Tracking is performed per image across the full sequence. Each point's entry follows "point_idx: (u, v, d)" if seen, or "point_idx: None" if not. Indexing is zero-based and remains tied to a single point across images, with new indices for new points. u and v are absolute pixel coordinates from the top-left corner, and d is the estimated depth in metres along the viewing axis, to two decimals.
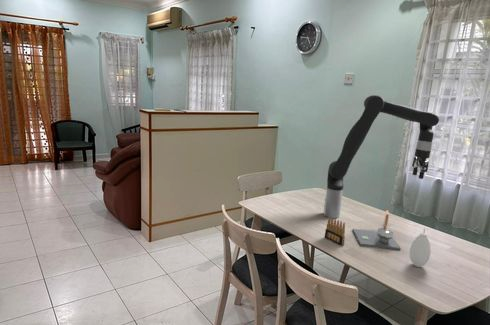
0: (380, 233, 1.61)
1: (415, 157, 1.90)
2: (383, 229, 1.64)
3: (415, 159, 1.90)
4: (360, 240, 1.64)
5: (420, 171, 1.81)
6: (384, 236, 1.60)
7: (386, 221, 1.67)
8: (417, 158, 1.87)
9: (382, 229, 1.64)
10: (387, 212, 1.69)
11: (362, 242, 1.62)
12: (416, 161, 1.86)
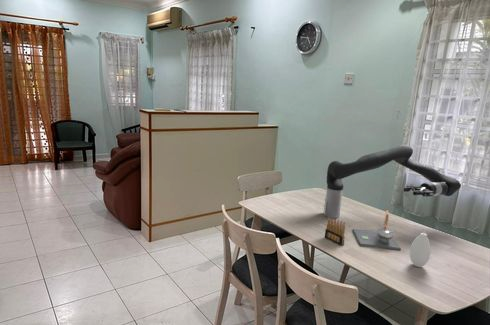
0: (380, 233, 1.61)
1: None
2: (383, 229, 1.64)
3: None
4: (360, 240, 1.64)
5: (420, 190, 1.72)
6: (384, 236, 1.60)
7: (386, 221, 1.67)
8: None
9: (382, 229, 1.64)
10: (387, 212, 1.69)
11: (362, 242, 1.62)
12: (420, 186, 1.77)
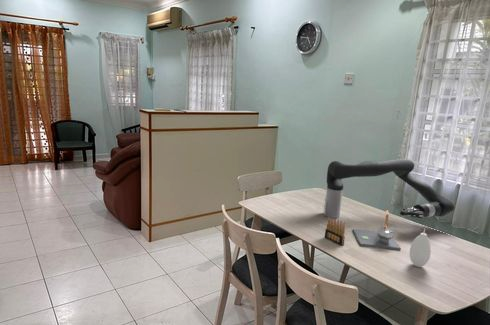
0: (380, 233, 1.61)
1: (405, 206, 1.83)
2: (383, 229, 1.64)
3: None
4: (360, 240, 1.64)
5: (408, 211, 1.76)
6: (384, 236, 1.60)
7: (386, 221, 1.67)
8: None
9: (382, 229, 1.64)
10: (387, 212, 1.69)
11: (362, 242, 1.62)
12: (414, 207, 1.79)
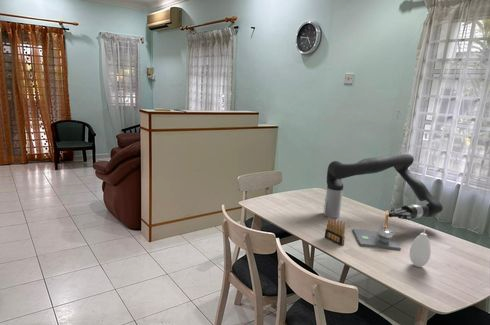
0: (380, 233, 1.61)
1: (393, 208, 1.80)
2: (383, 229, 1.64)
3: (393, 209, 1.79)
4: (360, 240, 1.64)
5: (396, 212, 1.72)
6: (384, 236, 1.60)
7: (386, 221, 1.67)
8: (400, 208, 1.78)
9: (382, 229, 1.64)
10: (387, 212, 1.69)
11: (362, 242, 1.62)
12: (401, 209, 1.75)
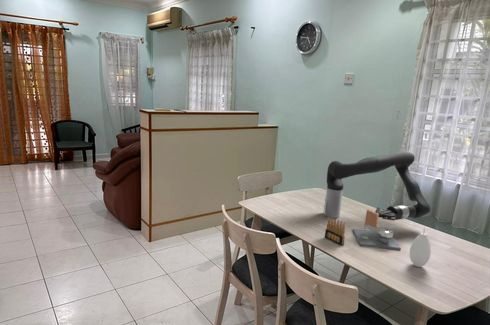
0: (387, 235, 1.59)
1: None
2: (381, 230, 1.63)
3: None
4: (360, 240, 1.64)
5: (380, 213, 1.70)
6: (390, 236, 1.60)
7: (377, 221, 1.66)
8: None
9: (381, 230, 1.63)
10: (373, 212, 1.68)
11: (362, 242, 1.62)
12: (387, 209, 1.73)
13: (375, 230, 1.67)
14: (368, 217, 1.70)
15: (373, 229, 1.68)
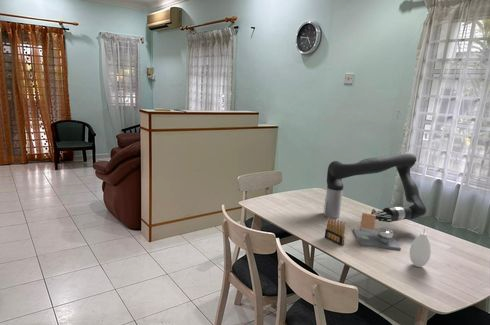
0: (390, 235, 1.60)
1: (374, 210, 1.74)
2: (381, 231, 1.62)
3: (374, 211, 1.73)
4: (360, 240, 1.64)
5: (376, 215, 1.67)
6: (392, 236, 1.61)
7: (374, 222, 1.64)
8: (381, 211, 1.73)
9: (382, 231, 1.62)
10: (369, 214, 1.65)
11: (362, 242, 1.62)
12: (383, 211, 1.70)
13: (374, 232, 1.64)
14: (364, 220, 1.66)
15: (371, 231, 1.65)
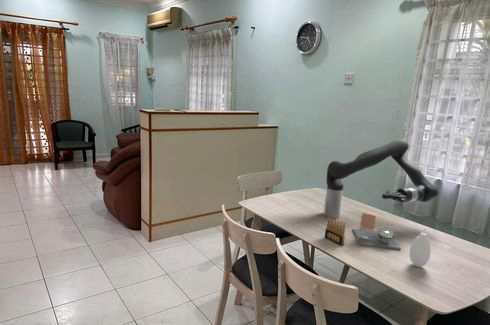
0: (390, 235, 1.60)
1: (388, 191, 1.81)
2: (381, 231, 1.62)
3: None
4: (360, 240, 1.64)
5: (390, 194, 1.73)
6: (392, 236, 1.61)
7: (374, 222, 1.64)
8: None
9: (382, 231, 1.62)
10: (369, 214, 1.65)
11: (362, 242, 1.62)
12: (397, 191, 1.77)
13: (374, 232, 1.64)
14: (364, 220, 1.66)
15: (371, 231, 1.65)
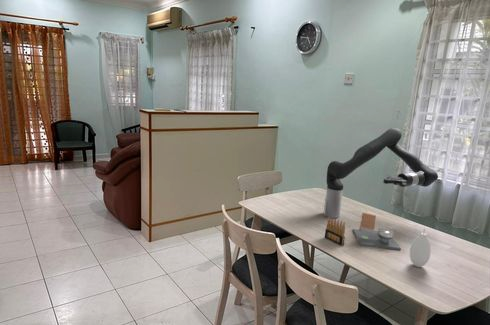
0: (390, 235, 1.60)
1: (389, 176, 1.83)
2: (381, 231, 1.62)
3: None
4: (360, 240, 1.64)
5: (391, 179, 1.75)
6: (392, 236, 1.61)
7: (374, 222, 1.64)
8: None
9: (382, 231, 1.62)
10: (369, 214, 1.65)
11: (362, 242, 1.62)
12: (397, 176, 1.79)
13: (374, 232, 1.64)
14: (364, 220, 1.66)
15: (371, 231, 1.65)
